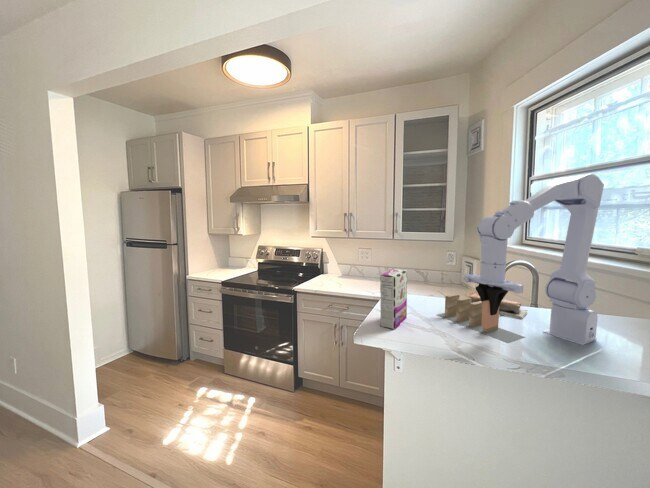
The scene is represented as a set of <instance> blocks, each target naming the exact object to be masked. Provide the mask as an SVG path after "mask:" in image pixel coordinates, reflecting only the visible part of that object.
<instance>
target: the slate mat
mask: <svg viewBox="0 0 650 488" xmlns="http://www.w3.org/2000/svg"><path fill="white" fill-rule="evenodd" d="M436 316H438V317H439V318H443V319H445V320H448V321H451V322H453V323H456V324H457V325H459V326H462V327H464V328H465V327H466V328H467V329H471V330H473V331H475V332H478V333H480V334H484V335H486V336H488V337H491V338H493V339H496V340H498V341H501V342H503V343H506V344H510V343H513V342H516V341H518V340H521V339H525V338H526V336H523V335H521V334H518V333H515V332H513V331H509V330H507V329H504V328H501V327H498V330H495V331H491V332H488V333H487V332H484V331H483V328H482V325H479V326H476V327H471V326H469V320H467V321H463V322H458V321H456V316H453V317H449V318H448V317H445V312H441V313H439V314H436Z"/></svg>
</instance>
